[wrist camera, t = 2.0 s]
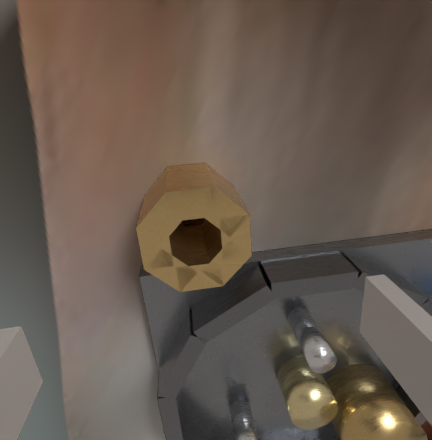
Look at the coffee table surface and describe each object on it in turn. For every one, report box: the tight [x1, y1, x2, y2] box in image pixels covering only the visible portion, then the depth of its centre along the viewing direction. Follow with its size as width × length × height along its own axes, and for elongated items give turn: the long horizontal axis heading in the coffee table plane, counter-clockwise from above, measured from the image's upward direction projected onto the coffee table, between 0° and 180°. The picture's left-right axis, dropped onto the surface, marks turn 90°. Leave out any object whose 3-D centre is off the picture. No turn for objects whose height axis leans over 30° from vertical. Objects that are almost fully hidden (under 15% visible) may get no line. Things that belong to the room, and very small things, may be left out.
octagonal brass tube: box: [136, 163, 252, 292], centre depth 22 cm, size 6×6×6 cm
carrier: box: [139, 229, 432, 440], centre depth 29 cm, size 25×25×8 cm
